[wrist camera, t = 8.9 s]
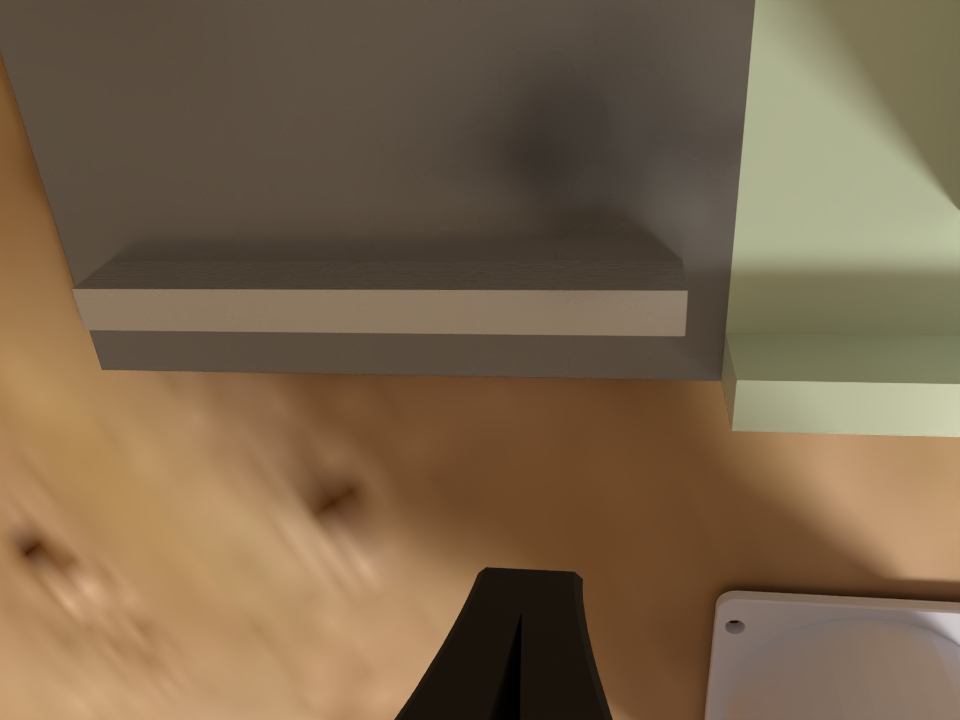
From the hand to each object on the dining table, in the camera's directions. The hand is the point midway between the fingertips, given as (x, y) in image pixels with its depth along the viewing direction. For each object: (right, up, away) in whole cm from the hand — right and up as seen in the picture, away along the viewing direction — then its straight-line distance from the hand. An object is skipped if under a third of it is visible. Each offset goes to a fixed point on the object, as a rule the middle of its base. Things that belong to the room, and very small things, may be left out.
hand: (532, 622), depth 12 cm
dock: (-3, +9, +6) cm, 11 cm away
